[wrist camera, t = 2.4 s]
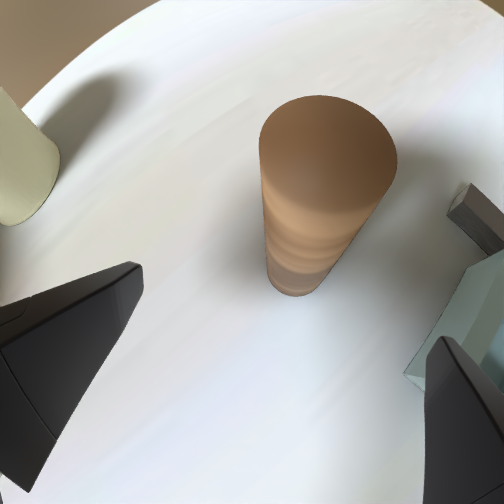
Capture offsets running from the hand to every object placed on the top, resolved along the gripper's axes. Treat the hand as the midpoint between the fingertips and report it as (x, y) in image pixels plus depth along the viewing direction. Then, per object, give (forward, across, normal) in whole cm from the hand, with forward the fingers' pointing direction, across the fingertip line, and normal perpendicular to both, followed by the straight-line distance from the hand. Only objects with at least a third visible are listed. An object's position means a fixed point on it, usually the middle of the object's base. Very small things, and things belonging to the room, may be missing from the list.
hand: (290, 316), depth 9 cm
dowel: (+10, 0, +5) cm, 12 cm away
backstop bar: (+13, -18, +2) cm, 22 cm away
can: (+12, +26, +4) cm, 28 cm away
